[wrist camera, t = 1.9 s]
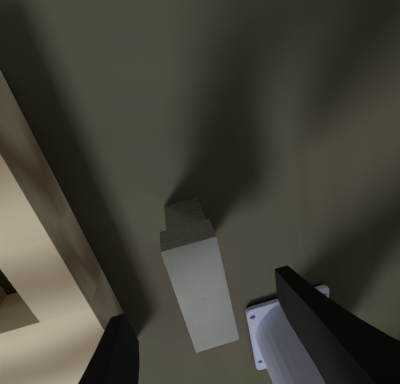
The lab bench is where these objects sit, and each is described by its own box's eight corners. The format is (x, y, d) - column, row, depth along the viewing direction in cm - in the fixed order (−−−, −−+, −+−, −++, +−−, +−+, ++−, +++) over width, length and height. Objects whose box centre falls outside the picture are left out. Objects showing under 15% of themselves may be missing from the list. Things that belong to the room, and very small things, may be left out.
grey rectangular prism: (212, 256, 20) (239, 339, 13) (182, 265, 20) (196, 352, 13) (192, 177, 17) (216, 236, 10) (158, 186, 17) (160, 252, 10)
